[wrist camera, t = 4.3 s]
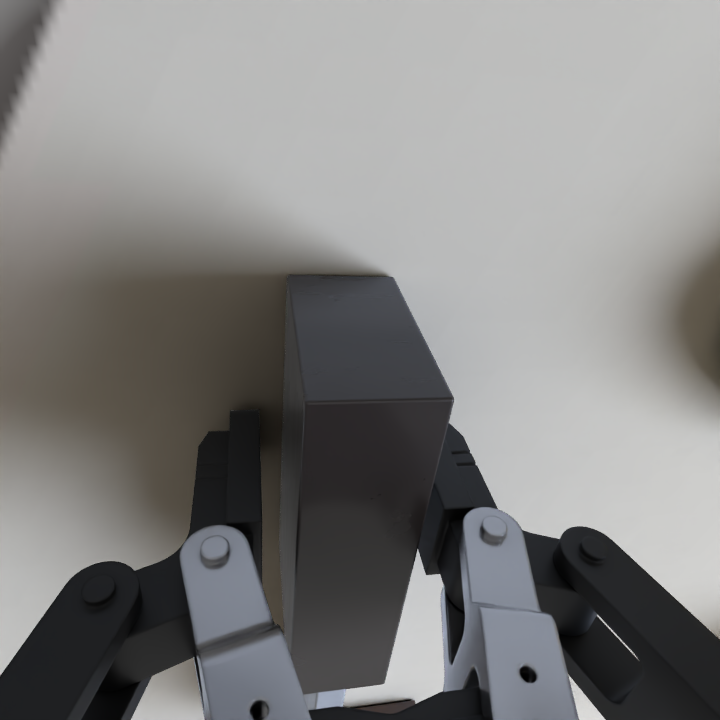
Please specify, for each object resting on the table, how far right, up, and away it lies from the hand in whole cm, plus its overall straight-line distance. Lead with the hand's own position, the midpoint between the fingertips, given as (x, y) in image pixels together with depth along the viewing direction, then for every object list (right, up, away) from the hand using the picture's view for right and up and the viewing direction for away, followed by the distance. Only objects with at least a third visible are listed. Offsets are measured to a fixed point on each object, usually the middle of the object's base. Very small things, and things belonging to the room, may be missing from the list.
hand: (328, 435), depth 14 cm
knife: (-1, -4, +3) cm, 5 cm away
